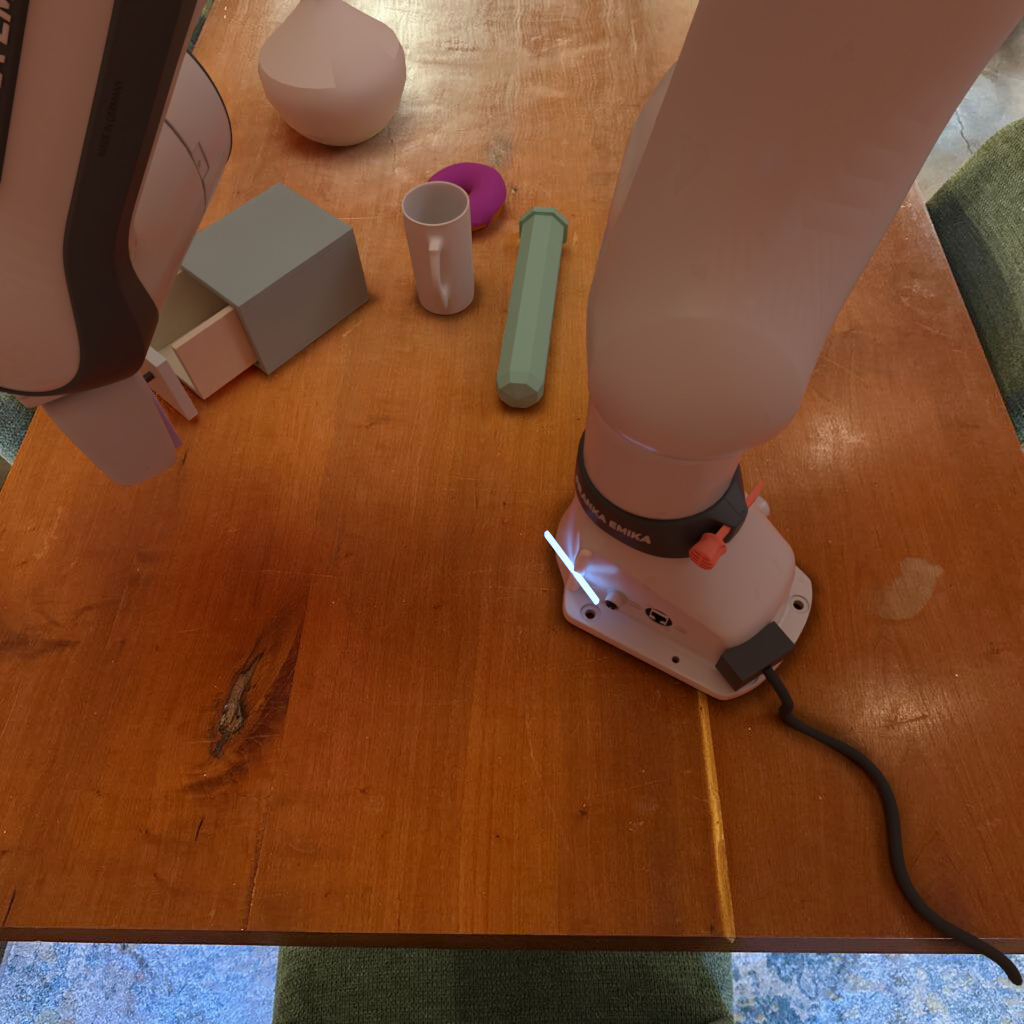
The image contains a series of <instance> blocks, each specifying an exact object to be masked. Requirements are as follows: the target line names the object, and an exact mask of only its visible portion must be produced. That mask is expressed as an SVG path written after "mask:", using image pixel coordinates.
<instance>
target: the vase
mask: <svg viewBox="0 0 1024 1024" xmlns="http://www.w3.org/2000/svg"><path fill="white" fill-rule="evenodd" d="M261 45H262V46H261V47H260V49H259V55H258V59H257V60H258V62H257V73H258V76H259V80H260V82H261V85H262V88H263V91H264V94H265V97H266V99H267V101H268V102H269V103H270V104H271V106H272V107H273V108H274V110H275V111H276V112H277V113H278V115H279V116H280V117H281V118H282V120H283V121H284V122H285V123H286V124H287V125H288V126H289V127H291V129H293V130H295V131H296V132H297V133H299V135H301V136H303V137H305V138H307V139H308V140H310V141H313V142H316V143H318V144H323V145H326V146H330V147H350V146H353V145H359V144H361V143H364V142H366V141H368V140H370V139H372V138H373V137H375V136H377V134H379V133H381V131H382V130H384V129H385V127H386V126H388V124H389V123H390V122H391V120H392V119H393V117H394V115H395V114H396V113H397V111H398V108H399V106H400V104H401V102H402V98H403V97H402V96H403V93H404V89H405V87H406V81H407V63H406V54H405V49H404V48H403V46H402V44H401V42H400V40H399V38H398V36H397V34H396V32H395V31H394V30H393V28H391V27H390V26H389V25H388V24H386V23H385V22H383V21H381V20H379V19H377V18H375V17H373V16H372V15H369V14H367V13H365V12H364V11H362V10H360V9H358V8H356V7H355V6H353V5H351V4H350V3H347V2H346V1H344V0H299V3H298V4H297V5H296V6H295V7H294V8H293V10H292V11H291V12H290V13H289V14H288V16H287V17H285V19H284V20H283V22H281V24H279V26H278V27H277V28H276V29H275V30H274V31H273V32H272V33H271V34H270V35H269V36H268V37H267V38H266V39H265V41H264V42H263V44H261Z"/></svg>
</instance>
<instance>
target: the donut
mask: <svg viewBox="0 0 1024 1024" xmlns="http://www.w3.org/2000/svg"><path fill="white" fill-rule="evenodd" d="M432 181H444V182H449V183H453V184H455V185H457V186H459V187H461V188H462V189H463V190H464V191H465V192H466V193H467V195H468V197H469V204H470V216H471V233H472V232H475V231H479V230H482V229H483V228H486V229H489V227H490V225H491V223H494V221H495V220H496V219H497V218H498V217H499V216H500V214H501V212H502V209H503V208H504V204H505V202H506V199H507V196H508V195H507V193H508V192H507V191H508V190H507V186H506V183H505V180H504V179H503V176H502V175H501V174H500V172H499V171H498V170H497V169H495V168H494V167H493V166H490V165H487V164H483V163H478V162H468V161H467V162H457V163H454V164H453V163H452V164H450V165H448V166H445V167H444V168H442V169H440V170H438V171H437V172H436V173H434V174H433V175H431V177H430V178H428V180H427V181H426V182H432Z"/></svg>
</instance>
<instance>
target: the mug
mask: <svg viewBox="0 0 1024 1024" xmlns="http://www.w3.org/2000/svg"><path fill="white" fill-rule="evenodd" d="M400 208H401V212H402V220H403V225H404V230H405V236H406V241H407V247H408V251H409V257H410V262H411V266H412V272H413V278H414V282H415V286H416V292H417V297H418V300H419V303H420V304H421V306H422V307H423V308H424V309H425V310H427V311H428V312H430V313H432V314H435V315H440V316H441V315H442V316H443V315H444V316H449V315H455V314H457V313H461V312H463V311H465V309H467V308H468V307H469V306H470V305H471V304H472V302H473V300H474V297H475V275H474V273H475V272H474V258H473V257H474V256H473V237H472V232H471V216H470V204H469V197H468V195H467V193H466V192H465V191H464V190H463V189H462V188H461V187H459V186H457V185H455V184H453V183H449V182H444V181H432V182H427V181H426V182H423V183H420V184H418V185H415V186H413V187H412V188H410V189H409V190H408V191H407V192H406V193H405V194H404V196H403V197H402V199H401V203H400Z"/></svg>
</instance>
